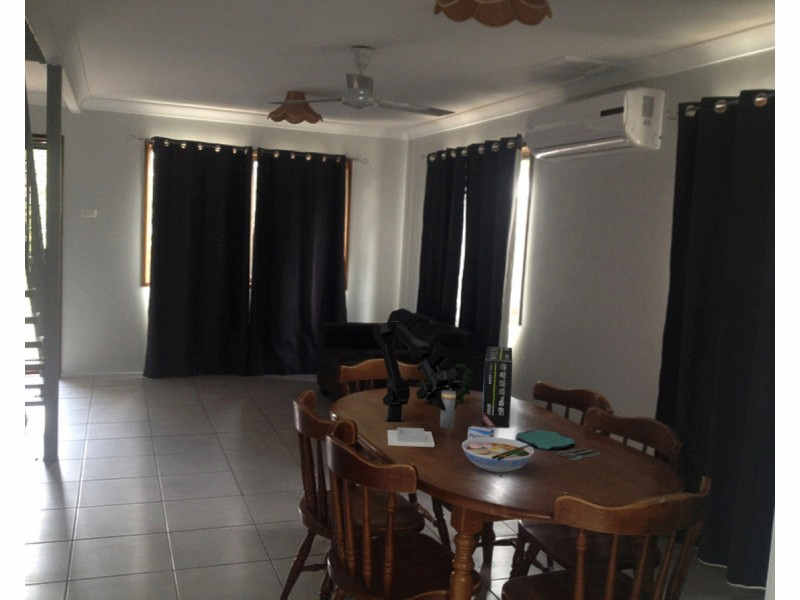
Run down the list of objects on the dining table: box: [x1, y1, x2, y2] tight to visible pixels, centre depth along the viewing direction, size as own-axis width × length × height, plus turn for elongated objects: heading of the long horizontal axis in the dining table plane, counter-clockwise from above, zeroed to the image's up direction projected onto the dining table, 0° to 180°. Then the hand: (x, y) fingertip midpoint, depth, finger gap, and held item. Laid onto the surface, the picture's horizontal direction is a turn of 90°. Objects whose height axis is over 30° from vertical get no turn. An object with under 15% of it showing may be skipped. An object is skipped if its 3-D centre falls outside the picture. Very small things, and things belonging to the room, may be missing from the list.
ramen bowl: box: [461, 437, 536, 474], centre depth 228 cm, size 25×23×8 cm
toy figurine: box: [416, 363, 474, 405], centre depth 316 cm, size 9×19×25 cm
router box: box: [481, 345, 513, 429], centre depth 296 cm, size 36×11×27 cm, turn 172°
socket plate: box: [387, 427, 435, 448], centre depth 257 cm, size 16×16×4 cm
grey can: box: [439, 390, 456, 430], centre depth 259 cm, size 5×5×13 cm
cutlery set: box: [515, 429, 602, 461], centre depth 258 cm, size 20×30×2 cm, turn 31°
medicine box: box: [466, 425, 495, 440], centre depth 245 cm, size 8×4×9 cm, turn 62°
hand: (450, 409), depth 258 cm, fingers closed on grey can, 5 cm apart
